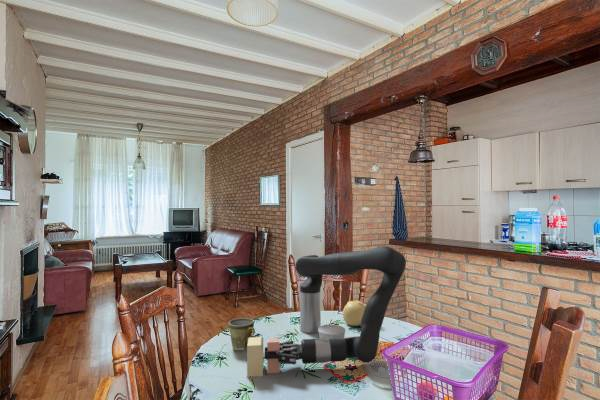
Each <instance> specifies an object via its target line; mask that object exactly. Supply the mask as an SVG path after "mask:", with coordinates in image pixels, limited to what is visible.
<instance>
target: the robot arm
mask: <svg viewBox="0 0 600 400" xmlns="http://www.w3.org/2000/svg"><path fill="white" fill-rule="evenodd" d="M406 260H407V259H406V257H405V256H404V254H402V253H401V252H399V251H398V250H396V249H394V248H392V247H391V246H386V245H385V246H384V245H383V246H379V247H373V248H370V249H365V250H364V249H363V250H355V251H353V250H352V251H343V252H334V253H329V254H326V255H322V256H319V255H316V254H309V255H305V256H301V257H299V258H298V259H297V260H296V262H295V267H294V268H295V271H296V272H297V274H298V275H299V276H301V277H303V278H306V279H305V280H304V281H303V282H302V283H301V284H300V286H299V300H300V301H299V303H300V304H299V307H300V308H299V312H300V314H299V322H300V326H299V329H300V331H301V332H302V333H306V334H314V333H319V332H318V328H319V327H321V326H322V323H321V322H322V321H321V320H322V319H321V318H322V316H321V313H322V312H321V309H322V308H321V305H322V304H321V302H322V301H321V287H322V284H323V276H324V275H325V276H353V275H355V274H356V273H358V272H360V271H362V270H375V271H379V272H381V273H383V275H382V279H381V283H380V285H379V286H378V288H377V289H376V291H375V292H374V293H373V294H372V295H371V297H370V299H369V300H368V302H367V303H366V304H365V305H366V307H365V310H364V313H363V317H362V320H361V325H360V328H361V330H360V331H361V332H360V335H359V336H350V337H346V338H345V337H344V339H320V338H308V339H307V338H305V339H302V340H301V342H300V343H299V344H298V343H294V340H290V341H289V340H288V341H284V342H281V343H280V351H267V346H265V348H264V359H265V360H267V359H276V360H278V362H282V363H281V364H289V365H296V364H297V362H296V361H299V360H301V362H302V364H304V365H306V364H307V365H309V364H325V363H331V362H332V363H333V362H334V363H335V362H343V361H346V360H347V359H353V358H355V359H356V358H357V359H358V360H359V361H361V362H363V363H370V362H372V361H373V360H374V359H375V357H376V355H377V353H378V349H379V342H380V332H381V329H382V326H383V322H384V319H385V315H386V313H387V310H388V307H389V304H390V301H391V299H392V297H393V295H394V293H395V290H396V289H397V286H398V285H399V282H400V280H401V278H402V276H403V274H404V272H405V269H406V265H407V261H406Z"/></svg>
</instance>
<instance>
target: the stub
mask: <svg viewBox="0 0 600 400" xmlns="http://www.w3.org/2000/svg"><path fill="white" fill-rule="evenodd" d="M280 342H281V341H280V338H268V339H267V343H266V344H267V346H266V347H267V351H280ZM266 360H267V361H266V362H267V374H279V373H280V372H281V371H280V370H281V368H280V367H281V363H280V362H278V360H276V359H266Z"/></svg>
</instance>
